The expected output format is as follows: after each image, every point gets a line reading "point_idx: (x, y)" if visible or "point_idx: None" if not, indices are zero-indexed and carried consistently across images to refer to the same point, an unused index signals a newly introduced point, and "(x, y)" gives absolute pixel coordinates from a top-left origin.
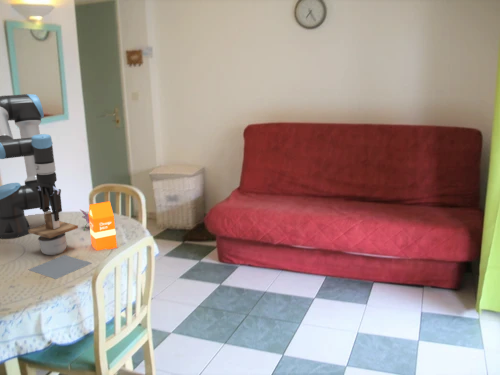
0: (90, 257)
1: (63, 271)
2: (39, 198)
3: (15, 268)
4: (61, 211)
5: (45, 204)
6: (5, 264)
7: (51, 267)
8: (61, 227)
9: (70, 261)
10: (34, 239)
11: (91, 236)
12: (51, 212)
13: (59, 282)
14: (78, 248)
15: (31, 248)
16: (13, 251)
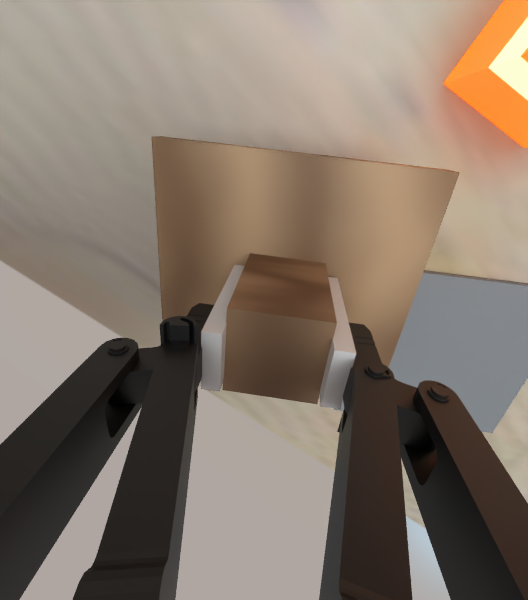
0: (521, 227)
1: (483, 387)
2: (49, 538)
3: (272, 401)
4: (441, 385)
5: (189, 451)
6: (210, 390)
7: (409, 376)
8: (345, 268)
9: (454, 312)
10: (33, 146)
11: (495, 83)
12: (233, 323)
13: (509, 433)
14: (374, 149)
15: (145, 249)
16: (113, 301)
